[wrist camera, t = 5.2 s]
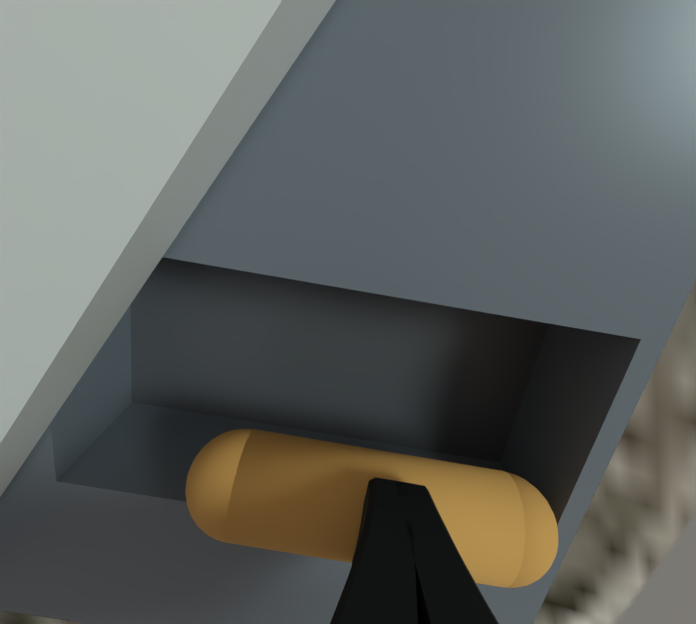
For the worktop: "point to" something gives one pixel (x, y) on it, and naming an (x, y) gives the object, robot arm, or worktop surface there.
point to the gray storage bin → (385, 298)
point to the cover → (112, 165)
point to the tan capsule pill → (348, 499)
